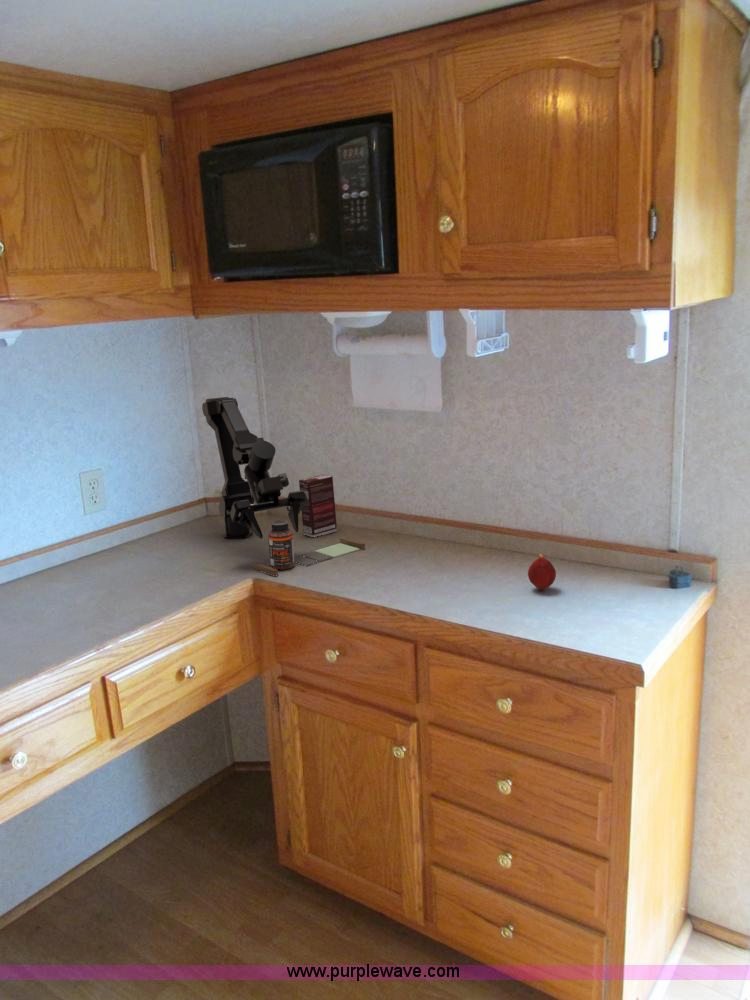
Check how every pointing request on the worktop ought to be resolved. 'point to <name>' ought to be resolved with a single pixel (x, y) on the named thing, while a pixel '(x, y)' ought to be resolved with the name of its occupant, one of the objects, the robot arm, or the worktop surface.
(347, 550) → the pad
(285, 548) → the supplement bottle
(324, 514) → the supplement box
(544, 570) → the onion
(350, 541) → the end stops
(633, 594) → the worktop surface
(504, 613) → the worktop surface
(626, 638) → the worktop surface
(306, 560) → the pads
